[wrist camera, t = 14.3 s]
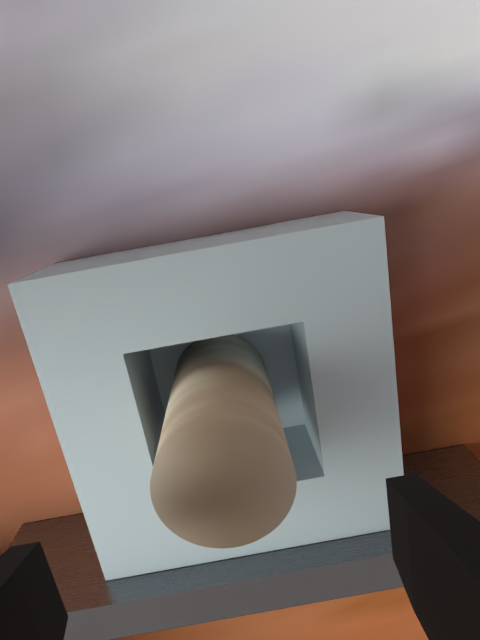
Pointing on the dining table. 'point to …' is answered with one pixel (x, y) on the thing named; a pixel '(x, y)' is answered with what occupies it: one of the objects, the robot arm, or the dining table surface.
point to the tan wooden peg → (222, 449)
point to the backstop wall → (233, 568)
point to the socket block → (209, 322)
